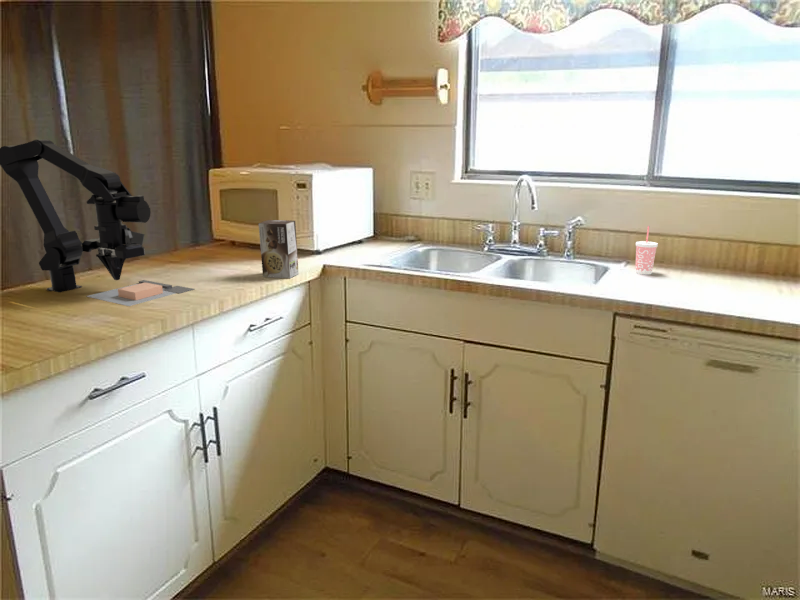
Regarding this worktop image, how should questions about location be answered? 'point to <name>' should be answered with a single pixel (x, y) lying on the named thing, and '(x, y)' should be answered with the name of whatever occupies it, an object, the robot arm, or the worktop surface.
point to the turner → (169, 287)
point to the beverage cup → (645, 255)
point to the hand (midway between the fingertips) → (117, 279)
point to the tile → (140, 291)
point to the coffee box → (278, 248)
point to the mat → (114, 297)
